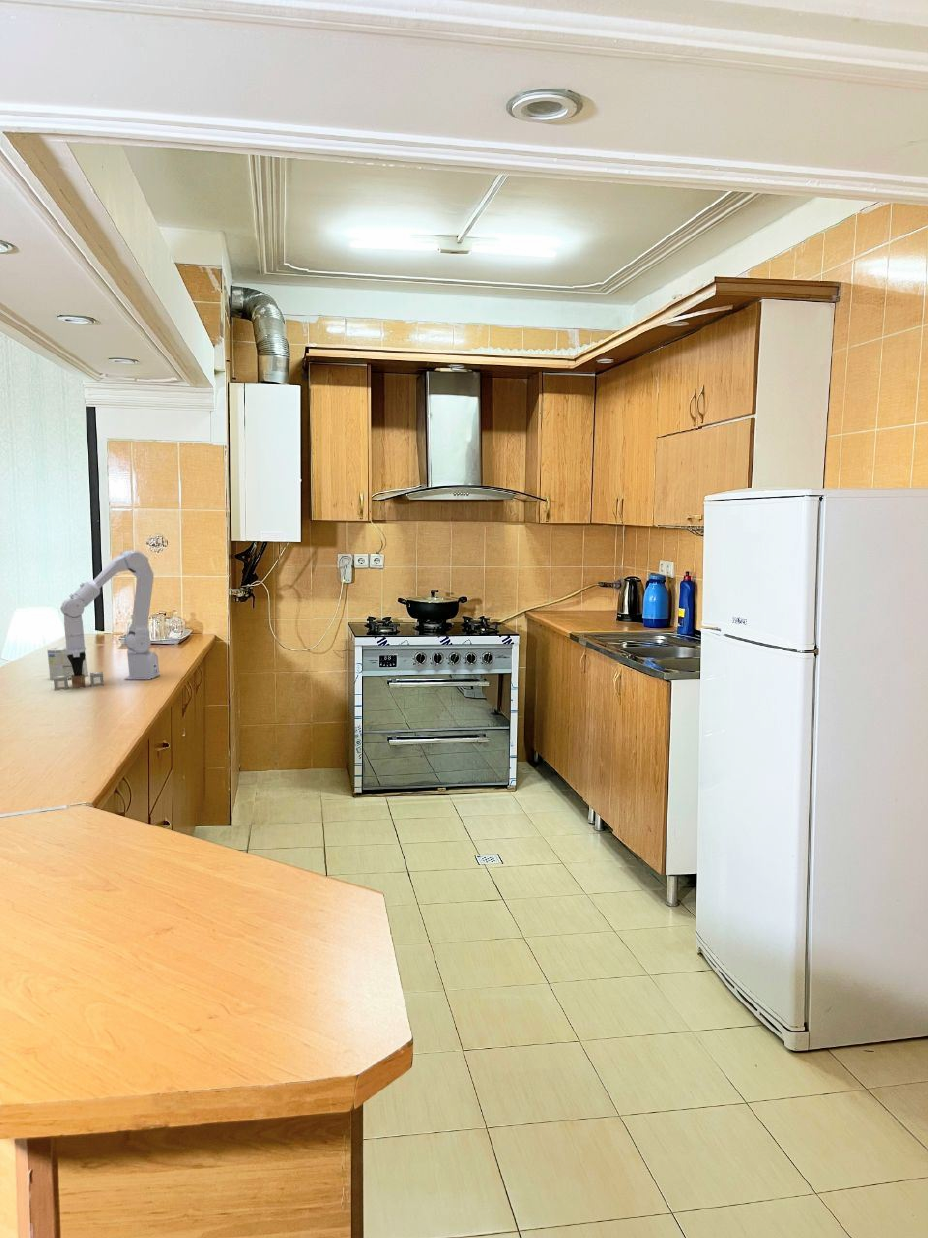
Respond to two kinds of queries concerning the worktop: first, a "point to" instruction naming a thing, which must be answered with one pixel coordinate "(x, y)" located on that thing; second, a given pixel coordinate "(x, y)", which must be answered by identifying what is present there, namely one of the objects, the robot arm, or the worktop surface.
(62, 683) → the marked grey block 1
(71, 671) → the light bulb box
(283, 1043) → the worktop surface
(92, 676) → the marked grey block 2
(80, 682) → the plain walnut block
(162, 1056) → the worktop surface
